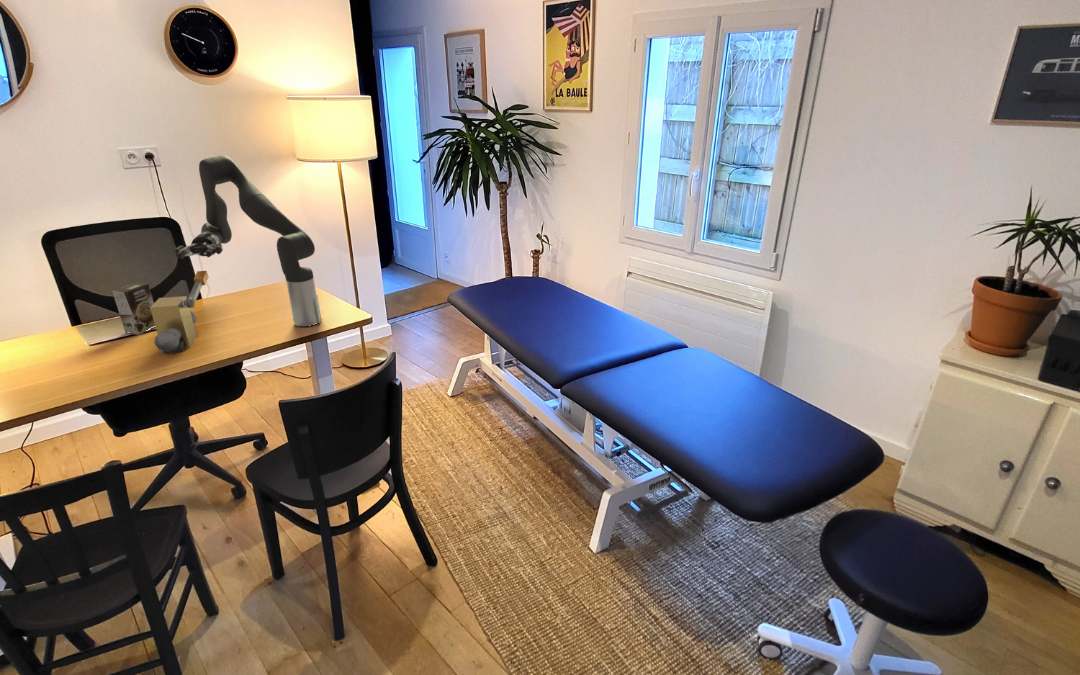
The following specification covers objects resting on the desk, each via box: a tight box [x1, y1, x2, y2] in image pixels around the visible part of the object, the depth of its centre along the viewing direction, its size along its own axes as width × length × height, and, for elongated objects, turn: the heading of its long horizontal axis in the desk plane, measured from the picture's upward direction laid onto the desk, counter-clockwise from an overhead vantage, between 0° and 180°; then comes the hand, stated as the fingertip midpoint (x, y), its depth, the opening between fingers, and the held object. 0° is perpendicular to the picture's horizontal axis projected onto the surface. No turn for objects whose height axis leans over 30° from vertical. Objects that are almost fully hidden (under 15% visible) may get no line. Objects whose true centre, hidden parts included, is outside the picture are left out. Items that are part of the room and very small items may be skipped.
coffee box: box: [111, 282, 155, 336], centre depth 195 cm, size 9×6×16 cm
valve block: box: [150, 295, 198, 355], centre depth 185 cm, size 9×21×16 cm, turn 16°
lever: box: [186, 270, 209, 309], centre depth 191 cm, size 3×3×22 cm
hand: (193, 255), depth 192 cm, fingers open, 8 cm apart
